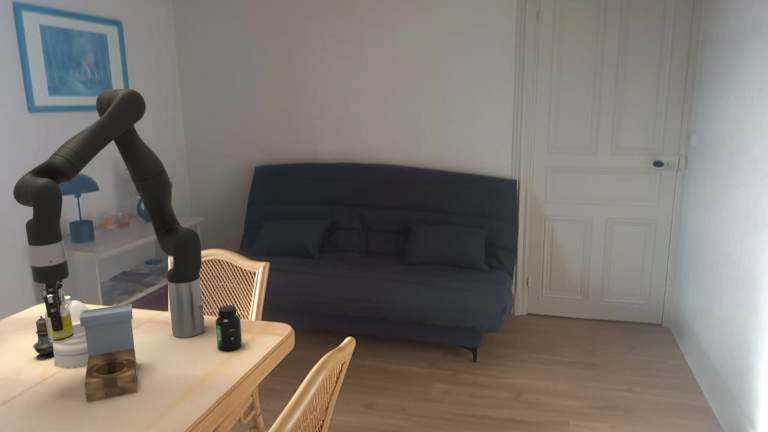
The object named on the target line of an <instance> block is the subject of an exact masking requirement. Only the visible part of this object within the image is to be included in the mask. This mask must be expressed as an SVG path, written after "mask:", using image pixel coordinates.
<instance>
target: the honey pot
mask: <svg viewBox="0 0 768 432" xmlns="http://www.w3.org/2000/svg"><path fill="white" fill-rule="evenodd" d="M71 299H72V298H71V296H69V295H66V296H65V303H66V306H65V307H66V308H68V309H69V310H70V314H71V321H72V327H73V333H74V336H73V338H72V339H70V340H68V341H66V342H62V343H53V351H54V357H53V358H54V363H55V365H56V366H57V367H59V368H65V369H75V368H82V367H87V363H88V349H87V341H86V334H85V327H81V324H80V314H81V311H84V310H90V309H89V307H87V306H86V305H85V304H84V303H83V302H81V301H80V300H71Z"/></svg>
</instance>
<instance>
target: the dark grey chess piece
mask: <svg viewBox="0 0 768 432" xmlns="http://www.w3.org/2000/svg"><path fill="white" fill-rule="evenodd" d="M35 325H36V331H35V333H36V335H37V342H35V343H34V344H32V345H33V346H32V347H33V349H34V350H35V352H36V353H37V355H36V357H35V359H36V360H39V361H44V360H46V361H47V360H49V359H52V358H54V350H53V343H51V342H50V341H49V338H48V332H47V326H46V320H45V317H43V316H42V315H40V316H39V318H38V319H37V320H36V322H35Z"/></svg>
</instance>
